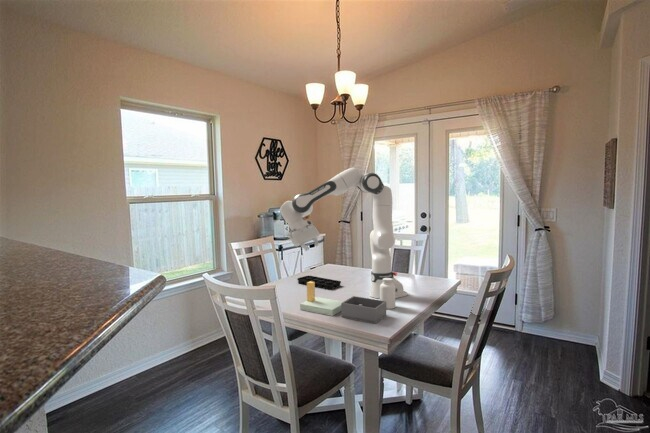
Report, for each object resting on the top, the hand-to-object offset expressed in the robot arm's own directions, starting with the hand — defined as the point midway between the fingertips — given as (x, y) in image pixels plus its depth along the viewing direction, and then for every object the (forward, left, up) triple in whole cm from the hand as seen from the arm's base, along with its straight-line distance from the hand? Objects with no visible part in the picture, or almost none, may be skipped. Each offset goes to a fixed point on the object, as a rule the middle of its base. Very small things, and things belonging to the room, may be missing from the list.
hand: (312, 247), depth 195 cm
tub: (-14, +32, -30) cm, 46 cm away
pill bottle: (-32, +25, -30) cm, 51 cm away
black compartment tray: (-16, -32, -31) cm, 47 cm away
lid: (0, +13, -30) cm, 33 cm away
